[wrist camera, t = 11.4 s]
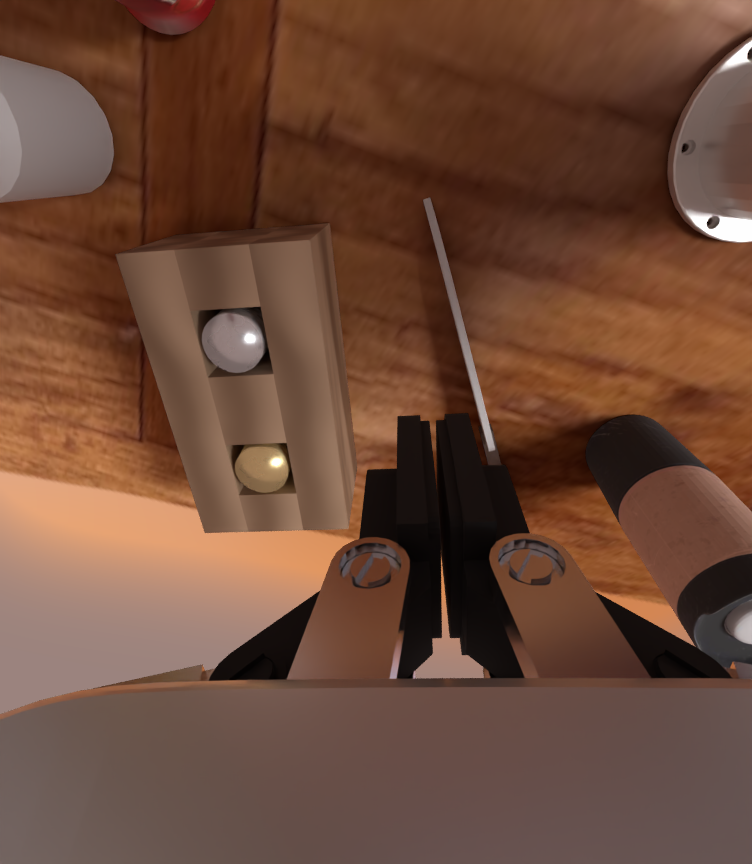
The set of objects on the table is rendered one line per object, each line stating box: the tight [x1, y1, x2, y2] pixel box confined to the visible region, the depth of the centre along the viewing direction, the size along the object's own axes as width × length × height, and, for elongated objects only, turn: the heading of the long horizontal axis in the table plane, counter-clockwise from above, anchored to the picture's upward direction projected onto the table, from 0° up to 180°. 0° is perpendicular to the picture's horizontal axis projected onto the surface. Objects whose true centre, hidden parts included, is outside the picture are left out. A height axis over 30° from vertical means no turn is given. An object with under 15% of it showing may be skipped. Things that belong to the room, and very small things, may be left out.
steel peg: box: [202, 307, 268, 373], centre depth 35 cm, size 4×4×8 cm
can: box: [0, 55, 114, 203], centre depth 29 cm, size 8×8×12 cm
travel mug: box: [586, 415, 752, 668], centre depth 36 cm, size 8×8×20 cm
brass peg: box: [235, 443, 291, 493], centre depth 40 cm, size 4×4×8 cm
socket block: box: [115, 223, 357, 533], centre depth 38 cm, size 12×22×9 cm, turn 4°
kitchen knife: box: [423, 197, 501, 465], centre depth 40 cm, size 4×1×30 cm
